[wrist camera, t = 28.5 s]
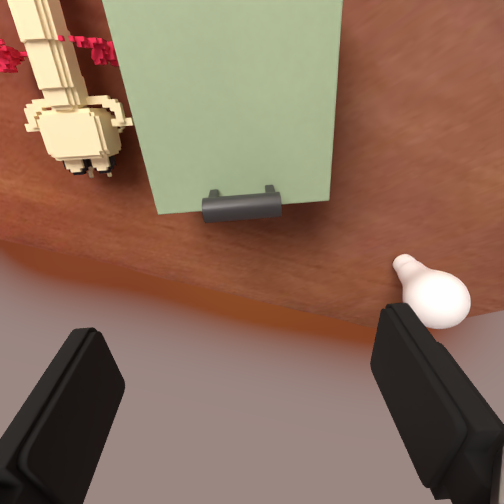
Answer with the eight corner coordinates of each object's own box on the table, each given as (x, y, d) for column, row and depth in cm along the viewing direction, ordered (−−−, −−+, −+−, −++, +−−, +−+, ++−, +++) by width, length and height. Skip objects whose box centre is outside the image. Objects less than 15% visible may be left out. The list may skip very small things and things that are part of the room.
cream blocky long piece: (-77, -211, 19) (57, 177, 30) (-303, -437, 11) (-9, 201, 22) (76, -220, 19) (153, 171, 30) (-41, -451, 11) (122, 193, 22)
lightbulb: (374, 280, 39) (416, 345, 30) (378, 241, 36) (426, 299, 27) (419, 275, 39) (476, 337, 30) (427, 235, 36) (494, 291, 27)
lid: (327, 197, 25) (345, 223, 21) (160, 211, 25) (143, 240, 21) (343, -60, 17) (379, -108, 13) (96, -38, 17) (46, -78, 13)
